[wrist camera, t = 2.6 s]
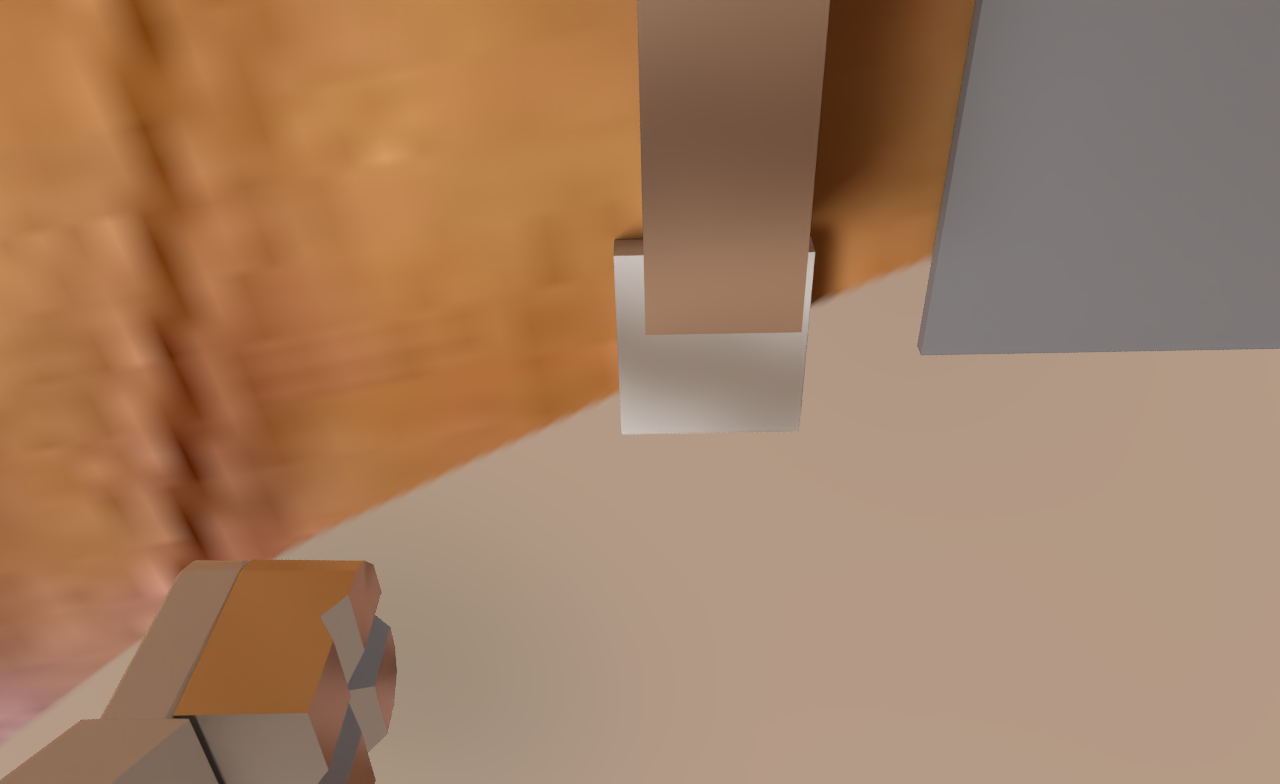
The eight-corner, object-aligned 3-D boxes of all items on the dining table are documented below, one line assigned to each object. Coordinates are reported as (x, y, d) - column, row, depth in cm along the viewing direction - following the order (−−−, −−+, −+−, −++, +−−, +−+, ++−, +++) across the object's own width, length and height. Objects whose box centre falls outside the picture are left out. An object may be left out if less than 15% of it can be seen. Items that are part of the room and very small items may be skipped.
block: (596, -165, 18) (586, -128, 14) (845, -172, 18) (890, -136, 14) (622, 414, 25) (618, 523, 22) (794, 412, 25) (816, 521, 22)
